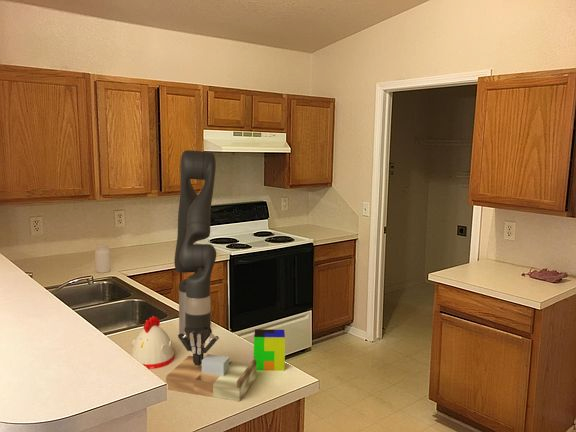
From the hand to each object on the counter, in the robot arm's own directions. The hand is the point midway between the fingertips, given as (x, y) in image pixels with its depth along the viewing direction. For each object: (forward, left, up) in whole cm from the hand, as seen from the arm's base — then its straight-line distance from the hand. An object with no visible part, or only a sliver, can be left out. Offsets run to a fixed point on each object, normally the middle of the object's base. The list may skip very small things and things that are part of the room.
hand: (198, 364), depth 147 cm
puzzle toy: (-18, +17, -6) cm, 26 cm away
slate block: (0, +6, -1) cm, 6 cm away
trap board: (0, +5, -5) cm, 7 cm away
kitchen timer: (-9, -21, -6) cm, 24 cm away
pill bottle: (-100, -105, -6) cm, 145 cm away
